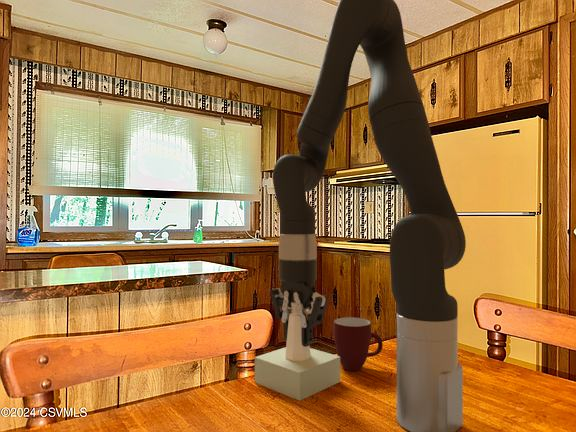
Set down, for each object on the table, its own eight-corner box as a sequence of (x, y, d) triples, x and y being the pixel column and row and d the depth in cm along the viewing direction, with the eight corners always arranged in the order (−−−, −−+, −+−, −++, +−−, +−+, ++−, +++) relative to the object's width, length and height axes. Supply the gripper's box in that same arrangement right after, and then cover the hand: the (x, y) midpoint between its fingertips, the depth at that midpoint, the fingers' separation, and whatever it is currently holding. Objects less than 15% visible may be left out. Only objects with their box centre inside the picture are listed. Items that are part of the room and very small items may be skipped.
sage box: (340, 381, 84) (340, 356, 84) (299, 400, 75) (299, 372, 75) (295, 366, 92) (295, 343, 92) (254, 382, 84) (254, 357, 84)
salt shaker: (290, 363, 80) (290, 305, 80) (280, 354, 85) (280, 299, 85) (316, 359, 82) (316, 302, 82) (304, 351, 87) (304, 297, 87)
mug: (375, 360, 97) (375, 316, 97) (387, 373, 89) (387, 325, 89) (329, 362, 95) (329, 317, 95) (338, 375, 87) (338, 327, 87)
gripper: (338, 257, 82) (338, 346, 82) (285, 253, 92) (285, 332, 92) (312, 260, 76) (313, 356, 76) (259, 255, 86) (259, 340, 86)
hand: (297, 342), depth 84 cm, fingers open, 4 cm apart
